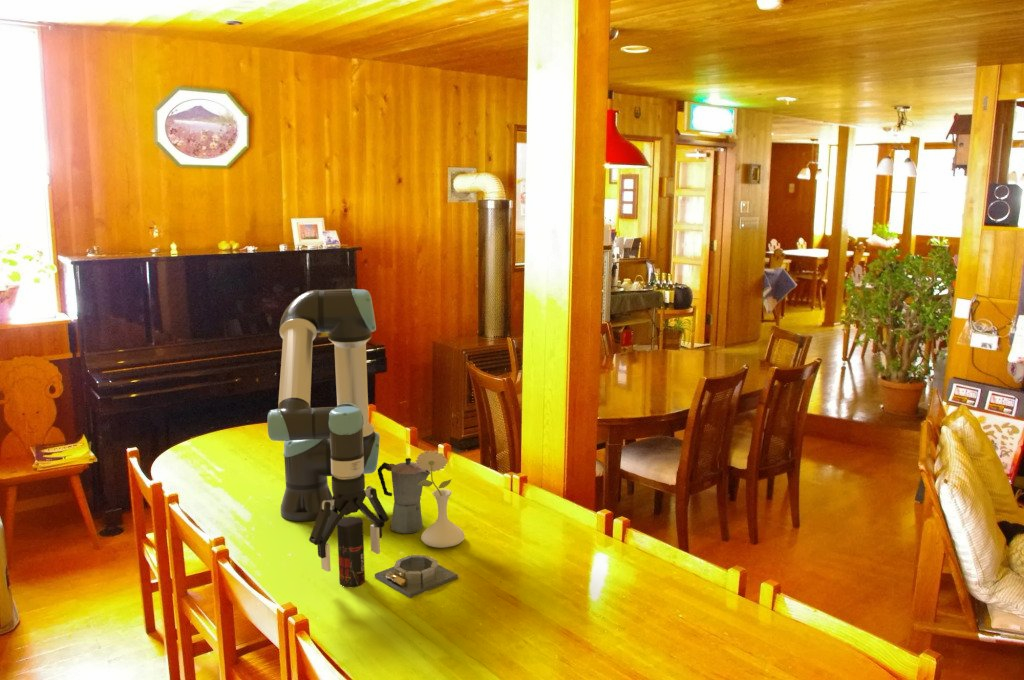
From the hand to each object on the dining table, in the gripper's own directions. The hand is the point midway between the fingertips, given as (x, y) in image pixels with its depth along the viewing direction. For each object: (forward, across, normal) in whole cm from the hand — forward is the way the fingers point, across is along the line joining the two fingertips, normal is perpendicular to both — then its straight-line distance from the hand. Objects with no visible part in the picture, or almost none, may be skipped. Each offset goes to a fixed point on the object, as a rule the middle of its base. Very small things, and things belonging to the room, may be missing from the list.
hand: (351, 560), depth 195 cm
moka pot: (+6, +28, +17) cm, 33 cm away
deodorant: (+6, 0, 0) cm, 6 cm away
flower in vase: (+6, +29, +3) cm, 30 cm away
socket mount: (+5, +12, -9) cm, 16 cm away
